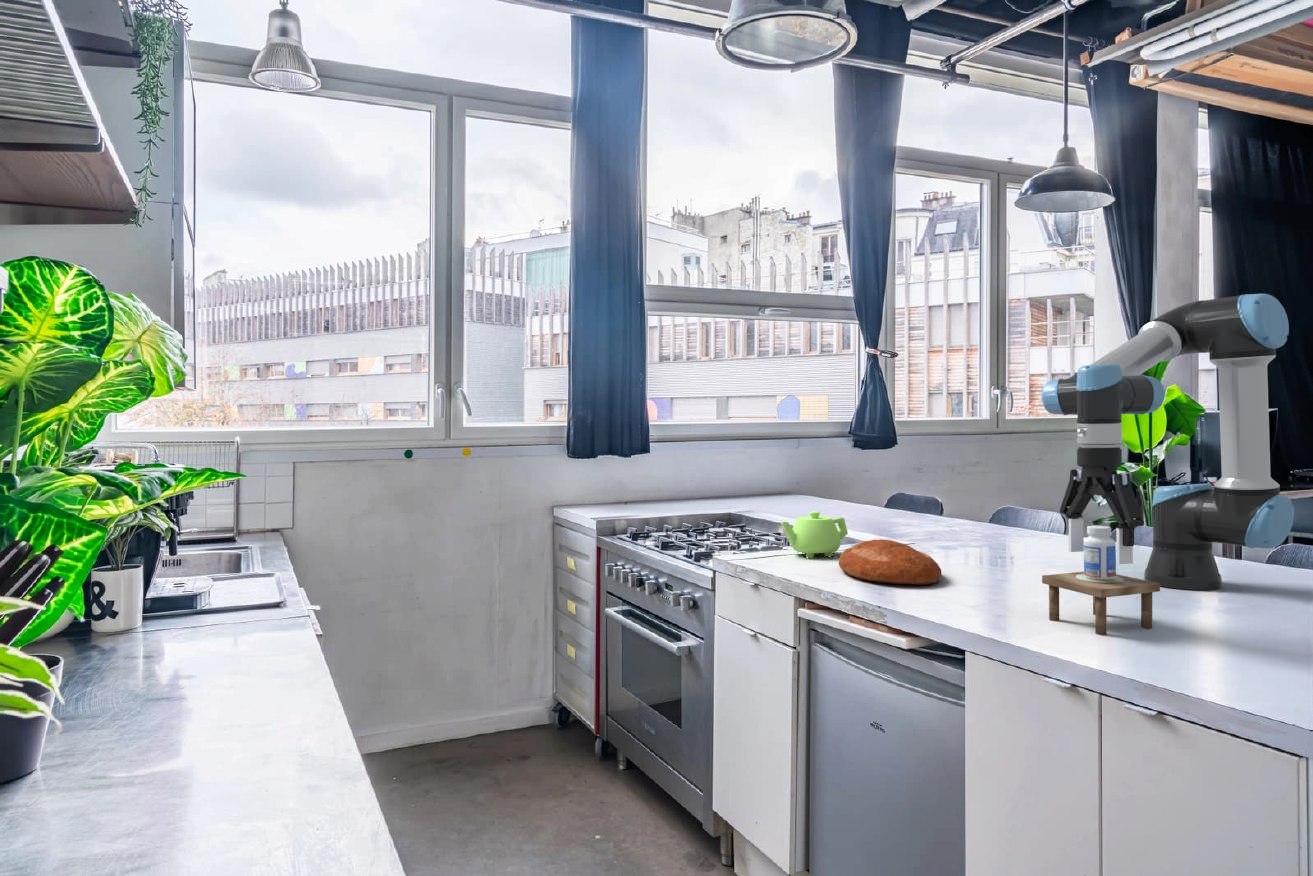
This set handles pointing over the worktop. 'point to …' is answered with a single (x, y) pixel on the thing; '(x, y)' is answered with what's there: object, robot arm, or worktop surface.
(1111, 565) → the pill bottle
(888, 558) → the bread
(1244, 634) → the worktop surface
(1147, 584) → the small wooden table
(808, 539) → the teapot
